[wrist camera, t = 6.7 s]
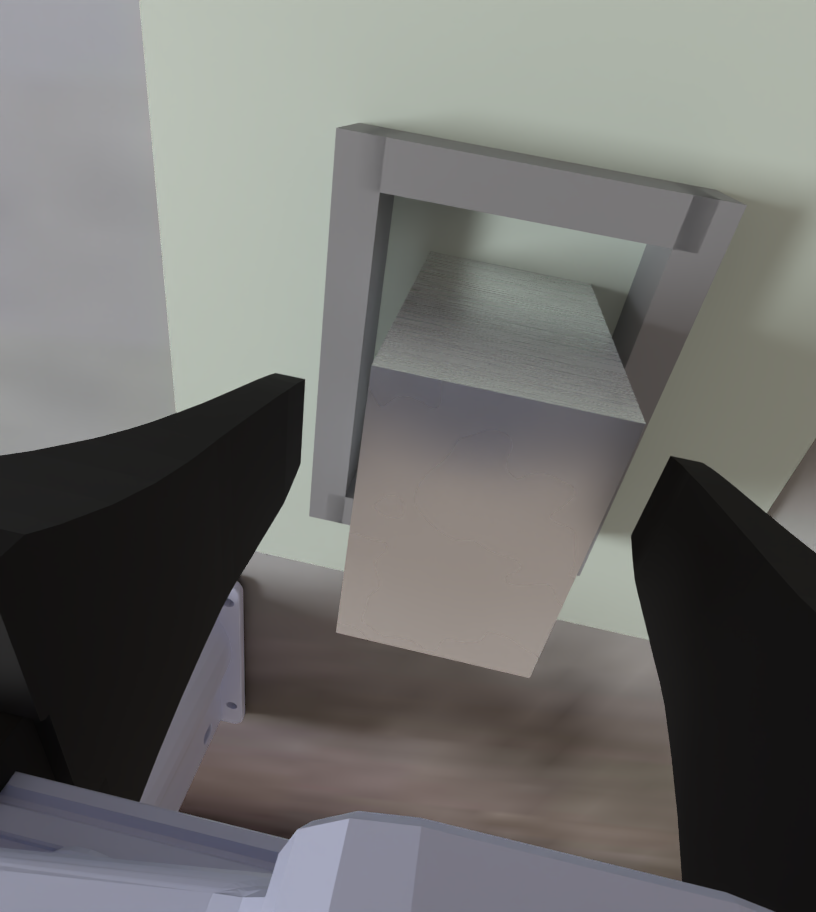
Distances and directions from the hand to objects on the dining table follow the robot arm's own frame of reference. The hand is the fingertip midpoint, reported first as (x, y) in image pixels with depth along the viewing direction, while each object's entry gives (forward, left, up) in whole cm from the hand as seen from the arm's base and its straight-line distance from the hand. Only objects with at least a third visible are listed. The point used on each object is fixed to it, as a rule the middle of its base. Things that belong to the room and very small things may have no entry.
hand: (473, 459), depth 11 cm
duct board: (0, 0, -5) cm, 5 cm away
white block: (0, 0, -5) cm, 5 cm away
